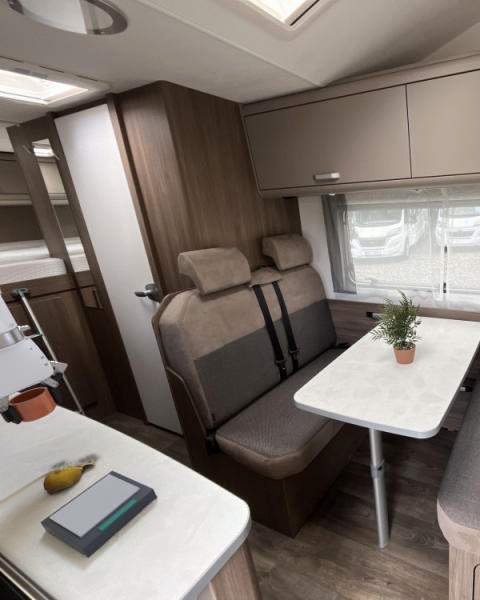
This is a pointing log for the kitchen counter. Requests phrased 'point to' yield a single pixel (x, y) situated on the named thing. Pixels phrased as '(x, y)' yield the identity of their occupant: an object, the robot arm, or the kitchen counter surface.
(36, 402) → the bowl
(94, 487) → the scale
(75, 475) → the fruit
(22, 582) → the kitchen counter surface
